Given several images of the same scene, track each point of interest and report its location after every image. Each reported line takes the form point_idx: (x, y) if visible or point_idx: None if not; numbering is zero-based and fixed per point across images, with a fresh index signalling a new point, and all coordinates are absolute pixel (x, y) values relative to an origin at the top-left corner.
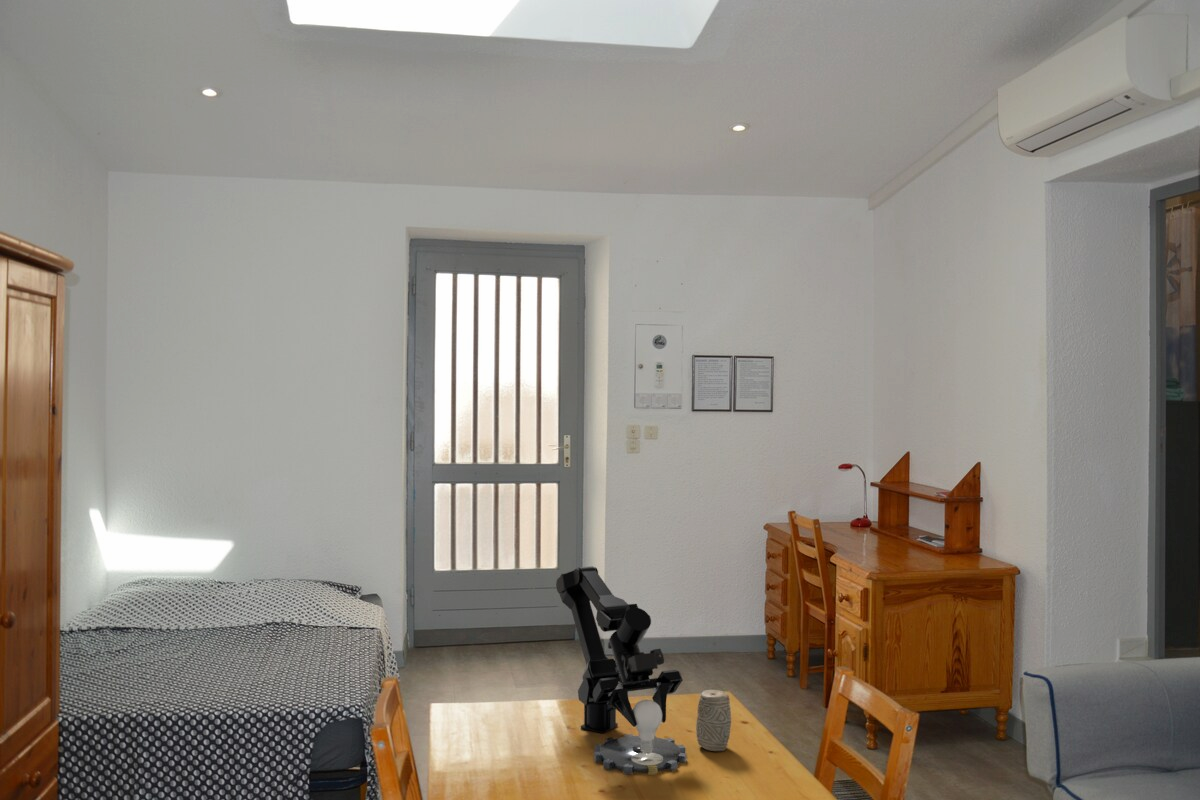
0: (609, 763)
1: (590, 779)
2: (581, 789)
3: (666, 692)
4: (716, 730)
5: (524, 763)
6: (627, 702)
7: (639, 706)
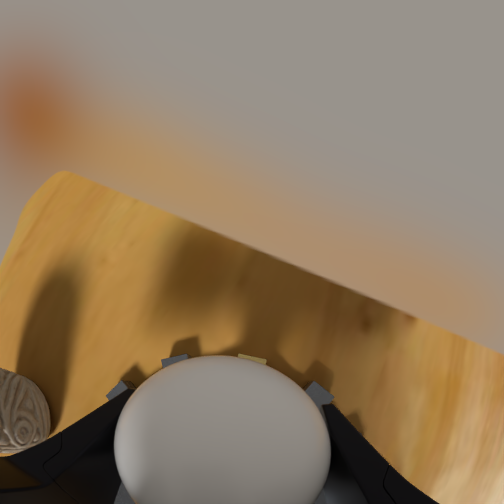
0: (360, 433)
1: (415, 386)
2: (444, 334)
3: (3, 460)
4: (2, 377)
5: (478, 489)
6: (391, 502)
7: (306, 451)
